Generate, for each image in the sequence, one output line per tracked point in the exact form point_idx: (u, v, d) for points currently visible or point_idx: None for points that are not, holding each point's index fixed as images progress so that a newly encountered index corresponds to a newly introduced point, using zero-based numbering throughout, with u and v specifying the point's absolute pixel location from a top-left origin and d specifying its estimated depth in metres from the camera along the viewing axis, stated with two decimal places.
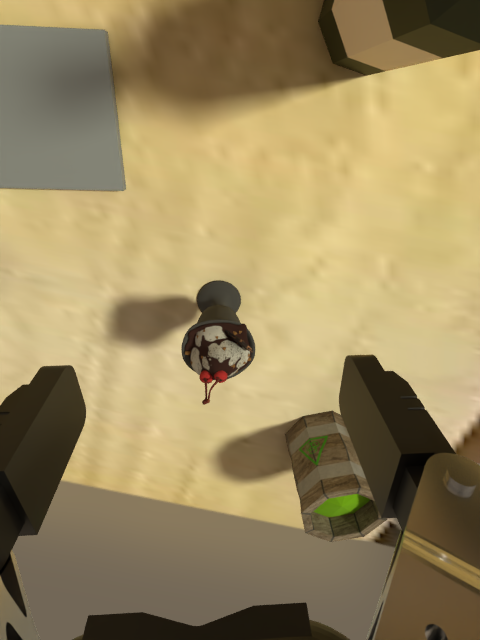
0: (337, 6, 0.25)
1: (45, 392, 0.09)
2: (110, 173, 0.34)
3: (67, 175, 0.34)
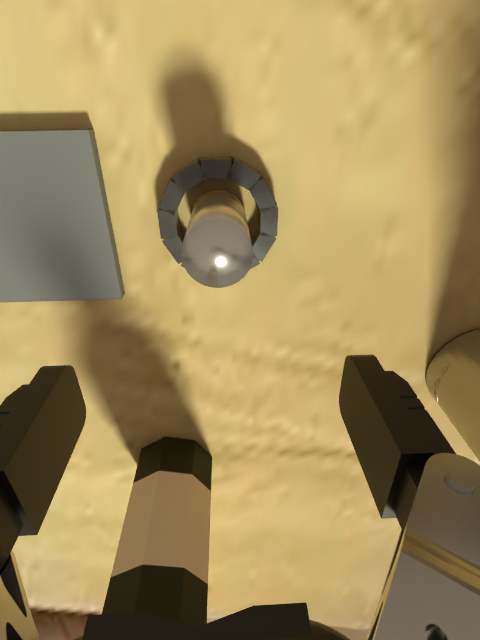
0: (155, 484, 0.34)
1: (45, 392, 0.09)
2: None
3: None
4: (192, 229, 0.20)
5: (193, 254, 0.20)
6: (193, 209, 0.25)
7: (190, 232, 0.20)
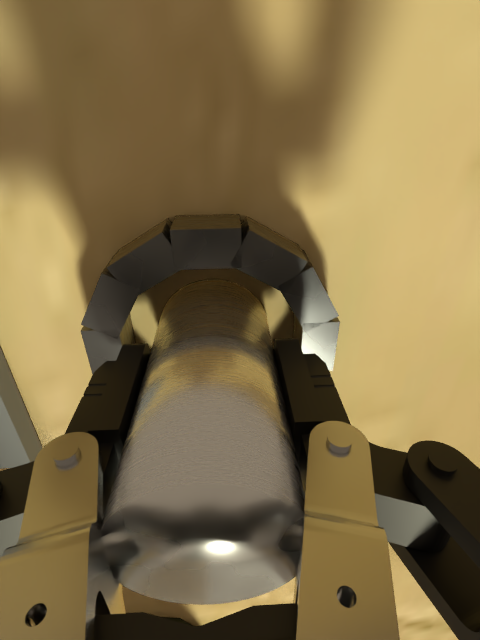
0: None
1: (133, 366, 0.10)
2: None
3: None
4: (124, 508, 0.06)
5: (134, 554, 0.07)
6: (158, 330, 0.12)
7: (118, 514, 0.06)
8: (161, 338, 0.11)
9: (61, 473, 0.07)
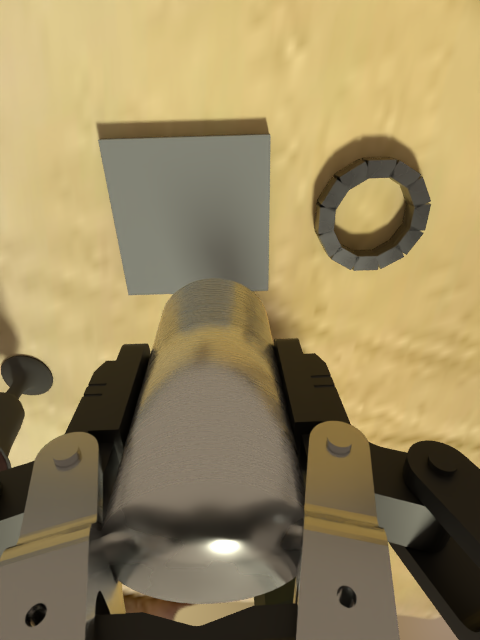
0: None
1: (134, 366, 0.10)
2: (144, 283, 0.31)
3: (133, 239, 0.29)
4: (126, 506, 0.06)
5: (135, 554, 0.07)
6: (159, 329, 0.12)
7: (120, 513, 0.06)
8: (162, 337, 0.11)
9: (61, 473, 0.07)
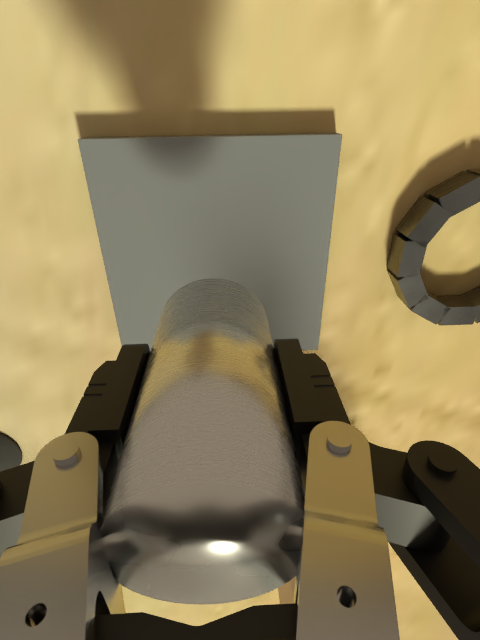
0: None
1: (134, 365, 0.10)
2: (147, 341, 0.22)
3: (131, 283, 0.20)
4: (123, 507, 0.06)
5: (133, 554, 0.07)
6: (158, 329, 0.12)
7: (118, 514, 0.06)
8: (161, 337, 0.11)
9: (61, 473, 0.07)
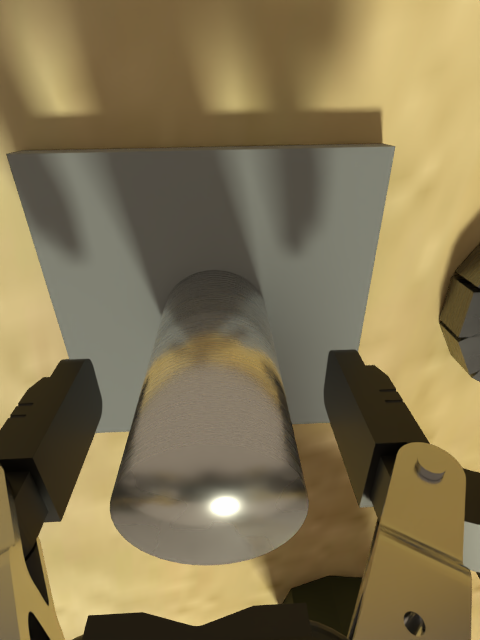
0: None
1: (67, 384, 0.09)
2: (121, 416, 0.17)
3: (96, 346, 0.15)
4: (136, 468, 0.07)
5: (144, 513, 0.07)
6: (162, 317, 0.12)
7: (131, 474, 0.07)
8: (166, 324, 0.11)
9: None
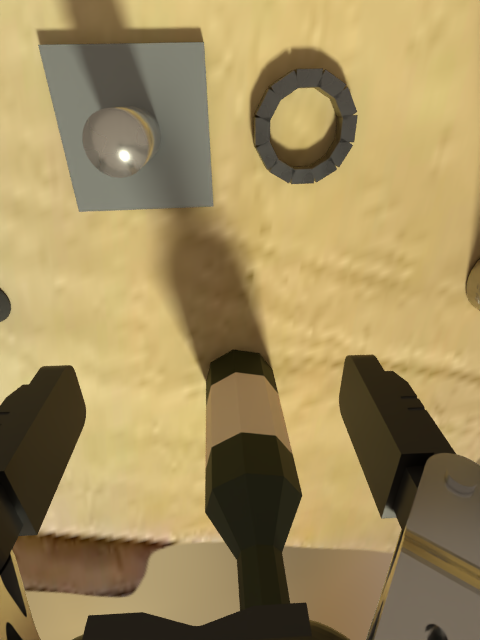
0: (235, 381, 0.38)
1: (45, 392, 0.09)
2: (94, 199, 0.32)
3: (79, 151, 0.30)
4: (89, 118, 0.22)
5: (93, 143, 0.23)
6: None
7: (88, 121, 0.22)
8: None
9: None
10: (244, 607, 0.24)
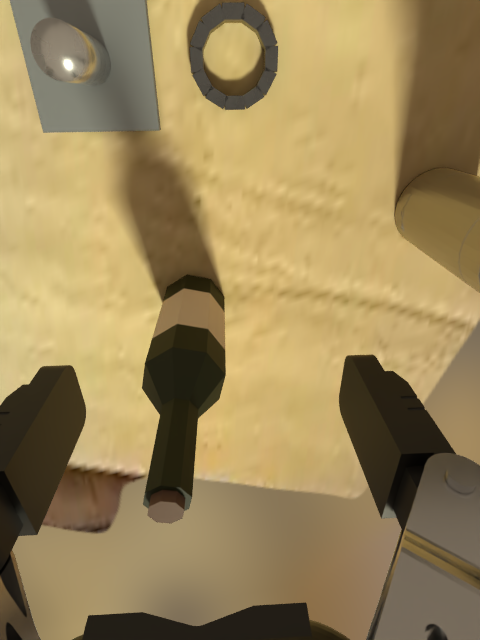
0: (182, 294, 0.43)
1: (45, 392, 0.09)
2: (55, 121, 0.38)
3: (41, 76, 0.36)
4: (35, 26, 0.28)
5: (39, 49, 0.28)
6: None
7: (34, 29, 0.28)
8: None
9: None
10: (156, 436, 0.29)
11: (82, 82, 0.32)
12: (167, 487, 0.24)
